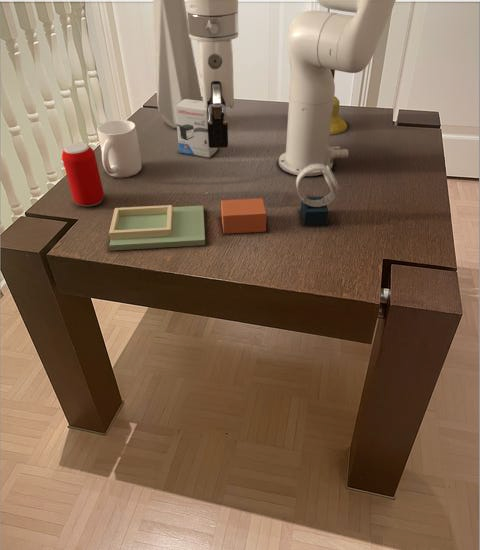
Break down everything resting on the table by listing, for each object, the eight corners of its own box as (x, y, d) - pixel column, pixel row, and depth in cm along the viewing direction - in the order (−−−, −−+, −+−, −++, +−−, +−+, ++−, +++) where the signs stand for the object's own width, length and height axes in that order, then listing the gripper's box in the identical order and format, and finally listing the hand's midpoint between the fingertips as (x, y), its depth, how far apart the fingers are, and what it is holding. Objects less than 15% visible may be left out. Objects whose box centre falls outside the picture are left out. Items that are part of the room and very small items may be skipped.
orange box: (262, 215, 90) (262, 198, 88) (265, 231, 86) (266, 213, 83) (221, 218, 90) (221, 200, 87) (223, 234, 85) (222, 215, 83)
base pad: (203, 210, 92) (202, 198, 90) (205, 245, 83) (204, 232, 81) (118, 215, 91) (115, 203, 89) (110, 250, 82) (107, 238, 80)
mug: (125, 188, 99) (117, 143, 93) (91, 184, 101) (80, 139, 94) (147, 164, 108) (141, 121, 102) (116, 160, 110) (107, 118, 103)
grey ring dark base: (336, 225, 87) (344, 172, 80) (295, 226, 87) (299, 173, 80) (331, 209, 92) (338, 158, 85) (291, 210, 92) (295, 159, 85)
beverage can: (85, 212, 92) (70, 156, 84) (69, 202, 95) (53, 147, 87) (111, 201, 95) (99, 146, 88) (94, 191, 98) (81, 137, 91)
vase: (201, 131, 123) (192, -11, 102) (159, 132, 123) (141, -11, 102) (205, 115, 132) (197, -19, 111) (165, 115, 133) (150, -18, 112)
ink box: (178, 152, 113) (173, 105, 105) (187, 145, 116) (183, 98, 109) (209, 158, 110) (207, 109, 103) (218, 150, 114) (216, 102, 106)
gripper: (242, 38, 62) (242, 155, 73) (234, 14, 76) (236, 116, 86) (187, 39, 62) (195, 157, 73) (189, 15, 75) (196, 117, 86)
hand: (217, 135), depth 80 cm, fingers open, 9 cm apart
